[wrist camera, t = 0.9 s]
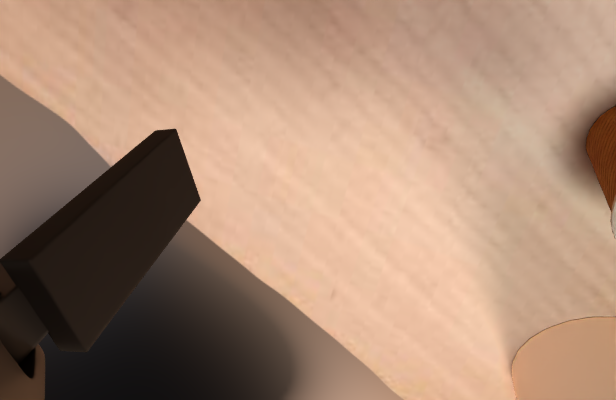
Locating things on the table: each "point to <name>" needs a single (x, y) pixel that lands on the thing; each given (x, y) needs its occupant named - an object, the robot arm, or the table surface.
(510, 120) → the table surface
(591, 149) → the disposable coffee cup
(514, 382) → the cylinder
